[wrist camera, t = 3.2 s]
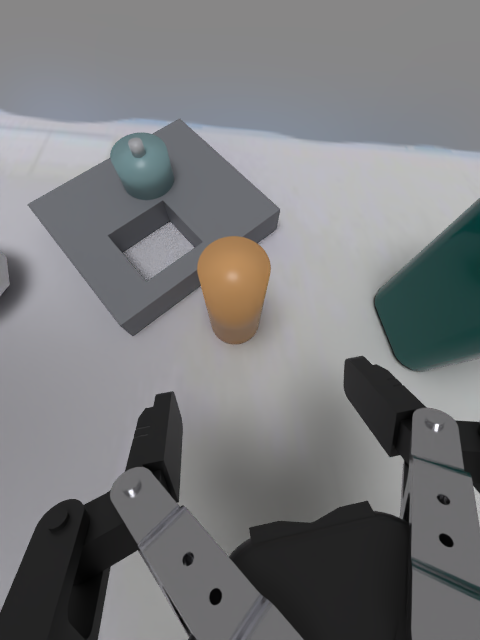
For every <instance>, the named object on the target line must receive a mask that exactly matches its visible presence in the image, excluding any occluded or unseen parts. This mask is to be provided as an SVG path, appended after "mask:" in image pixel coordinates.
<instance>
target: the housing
mask: <svg viewBox="0 0 480 640" xmlns="http://www.w3.org/2000/svg"><path fill="white" fill-rule="evenodd" d="M110 157H111V158H109V159H107V160H105V161H103V162H102V163H100V164H98V165H96V166H95V167H93V168H91V169H89V170H88V171H86V172H84V173H82V174H80V175H79V176H77V177H75V178H73V179H72V180H70V181H68V182H66V183H65V184H63V185H61V186H59V187H57V188H56V189H54V190H52V191H50V192H49V193H47V194H45V195H43V196H42V197H40V198H38V199H36V200H34V201H33V202H31V203H29V204H27V205H28V206H29V207H30V209H31V210H32V211H33V213H34V214H35V215H36V217H37V218H38V219H39V220H40V222H41V223H42V224H43V226H44V227H45V228H46V230H47V231H48V232H49V234H50V235H51V236H52V237H53V239H54V240H55V241H56V243H57V244H58V245H59V247H60V248H61V249H62V251H63V252H64V253H65V254H66V256H67V257H68V258H69V260H70V261H71V262H72V264H73V265H74V266H75V268H76V269H77V270H78V271H79V273H80V274H81V275H82V277H83V278H84V279H85V281H86V282H87V283H88V285H89V286H90V287H91V288H92V290H93V291H94V292H95V294H96V295H97V296H98V298H99V299H100V300H101V302H102V303H103V304H104V305H105V307H106V308H107V309H108V311H109V312H110V313H111V315H112V316H113V317H114V319H115V320H116V321H117V323H118V324H119V325H120V326H121V327H122V328H123V329H125V330H126V331H127V332H128V333H130V334H131V335H132V336H134V335H135V334H136V333H138V332H139V331H140V330H142V329H143V328H144V327H146V326H147V325H148V324H150V323H151V322H152V321H154V320H155V319H156V318H158V317H159V316H160V315H162V314H163V313H164V312H166V311H167V310H168V309H170V308H171V307H172V306H174V305H175V304H176V303H178V302H179V301H180V300H182V299H183V298H185V297H186V296H187V295H189V294H190V293H191V292H193V291H194V290H195V289H197V288H198V287H199V286H201V284H200V281H199V277H198V272H197V265H198V260H199V258H200V255H201V254H202V252H203V251H204V249H205V248H206V247H207V246H208V245H209V244H211V243H212V242H214V241H216V240H218V239H220V238H224V237H229V236H239V237H244V238H247V239H250V240H252V241H254V242H256V243H258V242H260V241H261V240H262V239H264V238H265V237H266V236H268V235H269V234H270V233H272V232H273V231H274V230H276V228H277V223H278V218H279V213H280V208H278V207H277V206H276V205H275V204H274V203H273V202H272V201H271V200H270V199H268V198H267V197H266V196H265V195H264V194H263V193H262V192H261V191H260V190H258V189H257V188H256V187H255V186H254V185H253V184H252V183H251V182H250V181H248V180H247V179H246V178H245V177H244V176H243V175H242V174H241V173H240V172H238V171H237V170H236V169H235V168H234V167H233V166H232V165H231V164H230V163H228V162H227V161H226V160H225V159H224V158H223V157H222V156H221V155H220V154H218V153H217V152H216V151H215V150H214V149H213V148H212V147H211V146H210V145H208V144H207V143H206V142H205V141H204V140H203V139H202V138H201V137H200V136H198V135H197V134H196V133H195V132H194V131H193V130H192V129H191V128H190V127H188V126H187V125H186V124H185V123H184V122H183V121H182V120H181V119H178V120H176V121H174V122H172V123H171V124H169V125H167V126H165V127H164V128H162V129H160V130H158V131H157V132H155V133H153V134H149V133H134V134H130V135H127V136H125V137H123V138H121V139H120V140H119V141H117V142H116V143H115V145H114V146H113V148H112V150H111V154H110ZM169 221H171V223H172V224H173V225H174V226H175V227H176V228H177V229H178V230H179V231H180V232H181V233H182V234H183V235H184V236H185V237H186V238H187V240H188V241H189V242H190V243H191V244H192V245H193V246H194V247H195V248H194V249H192V250H191V251H190V252H188V253H187V254H185V255H184V256H182V257H181V258H180V259H178V260H177V261H175V262H174V263H172V264H171V265H170V266H168V267H167V268H165V269H164V270H163V271H161V272H160V273H158V274H157V275H155V276H154V277H153V278H151V279H150V280H148V281H147V282H146V281H145V279H144V278H143V277H142V276H141V275H140V274H139V272H138V271H137V270H136V269H135V268H134V266H133V265H132V264H131V263H130V262H129V260H128V259H127V258H126V257H125V256H124V254H123V253H122V252H124V251H125V250H127V249H128V248H130V247H131V246H133V245H134V244H136V243H137V242H139V241H140V240H142V239H143V238H145V237H146V236H148V235H149V234H151V233H152V232H154V231H155V230H157V229H158V228H160V227H161V226H163V225H164V224H166V223H167V222H169Z"/></svg>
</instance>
